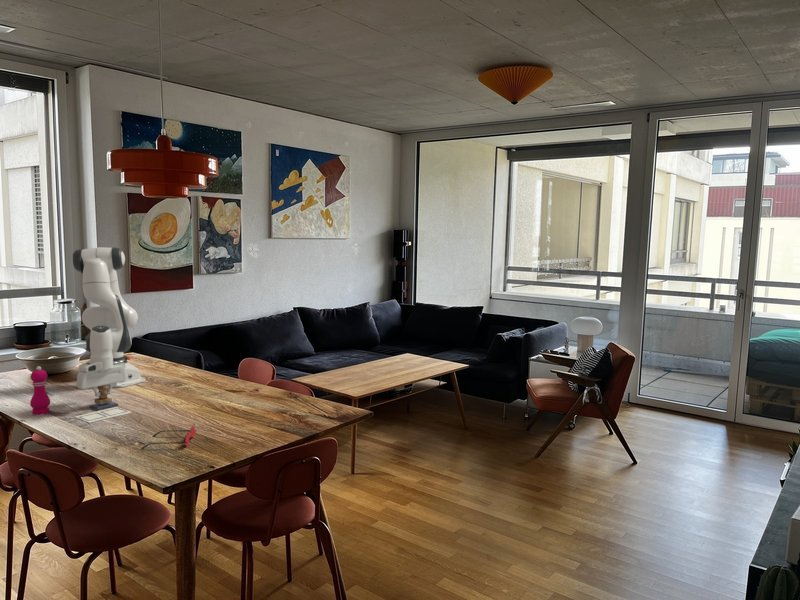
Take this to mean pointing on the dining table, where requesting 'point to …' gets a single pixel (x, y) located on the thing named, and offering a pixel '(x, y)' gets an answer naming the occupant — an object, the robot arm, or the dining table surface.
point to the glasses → (178, 442)
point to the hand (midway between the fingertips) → (102, 395)
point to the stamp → (103, 396)
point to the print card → (102, 414)
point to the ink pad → (103, 406)
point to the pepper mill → (39, 393)
